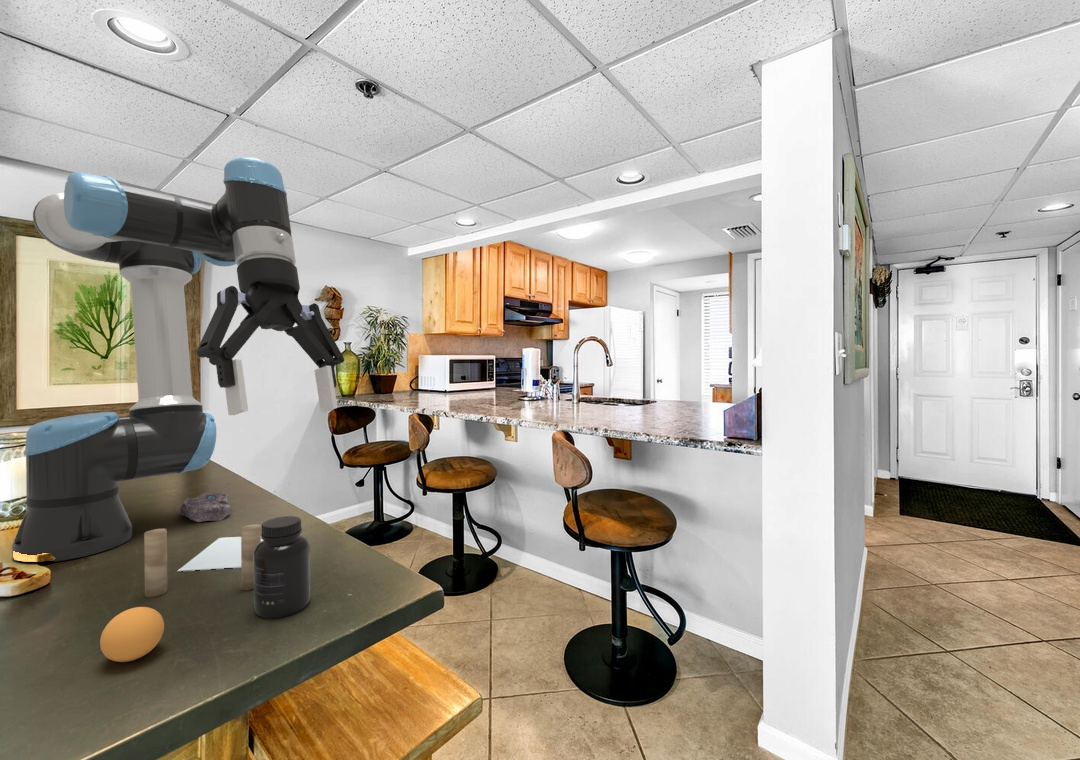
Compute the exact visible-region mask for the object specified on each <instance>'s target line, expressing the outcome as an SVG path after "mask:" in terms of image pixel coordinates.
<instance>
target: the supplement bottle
mask: <svg viewBox="0 0 1080 760" xmlns="http://www.w3.org/2000/svg"><path fill="white" fill-rule="evenodd" d="M302 533H303V527H302V519H301V518H300V517H299V516H295V515H287V516H284V515H283V516H278V517H277V516H276V517H273V518H270V519H267V520H266V521H263V522H262V524H261V539H262V540H263V541H262V542H260V543H259V544H258V545H257V546H256V548H255V550H254V553H253V563H254V589H253V595H254V597H253V598H254V600H253V601H254V612H255V614H256V615H258V616H259V617H261V618H264V619H280V618H283V617H288V616H291V615H294V614H296V613H298V612H300V611H301V610H303V609H304V608H305V607H306V606H307V605H308V604H309V602H310V600H311V553H310V552H311V551H310V550H311V549H310V548H311V547H310V541H309V539H308V538H307V537H306V536H304V535H303V534H302Z"/></svg>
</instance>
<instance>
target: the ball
mask: <svg viewBox="0 0 1080 760" xmlns="http://www.w3.org/2000/svg"><path fill="white" fill-rule="evenodd" d="M164 631H165V621H164V617H163V616H162V614H161V613H160V612H159V611H157V610H156V609H154V608H151V607H147V606H136V607H131V608H129V609H126V610H124V611H122V612H119V614H117V615H116V616H114V617H112V619H111V620H110V621H109V622H108V623H107V624H106V625H105V627H104V629H103V630H102V632H101V635H100V640H99V645H100V646H99V647H100V651H101V652H102V654H103V655H104V656H105V657H106V658H107V659H109V660H111V661H113V662H117V663H118V662H119V663H126V662H127V663H128V662H132V661H136V660H137V659H140V658H142V657H144V656H145V655H148V654H149V653H150V652H151V651H152V650H153V649H154V648H155V647H156V646H157V645H158V643H159V642H160V641H161V639H162V636H163V634H164Z"/></svg>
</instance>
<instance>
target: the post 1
mask: <svg viewBox="0 0 1080 760" xmlns="http://www.w3.org/2000/svg"><path fill="white" fill-rule="evenodd" d="M167 535H168V532H167V528H155V529H151V530H147V531H145V532H144V533H143V536H144V537H143V541H144V545H143V546H144V547H143V549H144V550H143V551H144V559H143V560H144V596H145V598H154V597H155V598H156V597H159V596H162V595H164V594H166V593H168V545H167V544H168V543H167V541H168V539H167V538H168V537H167Z"/></svg>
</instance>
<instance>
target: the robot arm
mask: <svg viewBox="0 0 1080 760" xmlns="http://www.w3.org/2000/svg"><path fill="white" fill-rule="evenodd" d="M66 179H67V180H66V182H65V184H64V185H65V186H64V192H61V193H55V194H51V195H48V196H46V197H44V198H41V200H39V201H38V202H37V203H36V205H35V206H34V208H33V211H32V221H33V223H34V227H35V229H36V230H37V232H38V233H39V235H40V236H42V238H43V239H45V241H47V242H48V243H50V244H51V245H53V246H54V247H57V248H58V249H61V250H63V251H65V252H67V253H69V254H73V255H75V256H79V257H82V258H84V259H89V260H93V261H96V262H97V261H98V262H104V263H109V264H110V263H111V264H117V265H118V266H119V267H118V269H119V275H120V276H121V277H122V278H123V279H125V280H126V281H128V283H129V284H130V294H131V310H132V322H133V336H134V338H133V339H134V352H135V367H136V380H137V381H136V383H137V397H138V398H137V399H138V401H136V403H134V404H133V405H132V406H131V407H130V408H129V409H128V414H129V415H128V416H129V417H128V418H120V416H119V415H118V413H117V412H114V411H101V412H89V413H81V414H75V415H74V414H73V415H69V416H68V415H66V416H63V417H62V416H61V417H56V418H50V419H47V420H43V421H40V422H37V423H35V424H32V426H30V427H29V428H28V430H27V432H26V435H25V447H24V451H23V455H24V456H25V462H26V463H25V464H26V465H25V467H26V468H25V471H26V472H25V473H26V475H25V476H26V477H25V478H26V481H25V482H26V486H25V487H26V490H25V491H26V492H25V493H26V511H25V513H24V515H23V519H22V521H21V523H20V525H19V528H18V530H17V532H16V535H15V538H14V540H13V542H12V545H11V551H12V550H13V551H15V552H19V553H21V554H27V555H37V554H42V553H52V554H53V555H52V556H54V557H55V558H56V559H55V561H54V562H60V561H68V560H73V559H77V558H82V557H87V556H91V555H94V554H98V553H102V552H106V551H108V550H111V549H114V548H116V547H119V546H121V545H122V544H125V543H127V542H128V541H129V540H130V539H131V538H132V537H133V524H132V522H131V520H130V518H129V515H128V513H127V511H126V509H125V507H124V505H123V503H122V501H121V499H120V493H119V492H120V482H124V481H131V480H139V479H145V478H152V477H157V476H165V475H174V474H182V473H185V472H190V471H195V470H199V469H201V468H204V467H205V466H206V465H207V464H208V463H209V461H210V460H211V458H212V456H213V454H214V451H215V447H216V442H217V424H216V422H215V418H214V416H213V415H212V414H211V413H208V412H204V411H203V404H202V403H201V402H200V401H198V400H197V399H195V398H194V395H193V387H192V386H193V385H192V374H191V373H192V372H191V360H190V359H191V358H190V348H189V346H190V345H189V334H188V333H189V332H188V323H187V321H188V320H187V311H186V310H187V308H186V295H185V286H186V285H187V284H189V282H191V281H192V280H193V274H197V273H198V272H199V271H200V269H201V267H202V260H205V261H206V262H208V263H210V264H211V265H214V266H217V267H232V266H234V265H236V266H237V267H236V275H237V281H238V288H239V289H238V288H237V287H236V286H234V285H229V286H227V287H226V288H224V289H222V290H219V292H217V293H216V308H215V310H214V313H213V314H212V317H211V319H210V321H209V323H208V325H207V327H206V329H205V332H204V334H203V336H202V338H201V340H200V343H199V345H198V347H197V349H196V355H197V357H199V358H204V359H205V358H207V359H208V361H209V363H210V365H212V366H215V367H216V375H217V384H218V386H219V387H220V388H224V391H225V397H226V406H227V412H228V416H237V415H239V414H241V413H245V412H247V411H249V406H248V405H249V404H248V398H247V392H246V383H245V382H246V381H245V376H244V370H243V369H244V368H243V362H242V359H239V358H237V359H233V358H234V357H235V356H236V355H237V354H238V352H239V351H240V350H242V348H243V346H245V344H246V343H247V341H248V340H249V339H250V338H251V337H252V335H253V334H254V333H255V332H256V331H257V329H258V328H259V327H260V329H262V330H274V331H275V332H285V334H286V335H287V336H289V337H292V338H293V339H294V341H295V342H296V343H297V344H298V345H299V347H301V349H302V350H303V351H304V352H305V353H306V355H308V358H310V359H311V360H312V361H313V363H314V364H315V365H316V366H317V367H318V368H316V369H315V370H314V377H315V383H316V388H317V395H318V402H319V409H320V412H321V413H323V412H327V411H331V410H334V409H337V408H338V403H337V402H338V401H337V395H336V389H335V388H337V379H336V371H335V367H336V366H337V365H340V364H343V363H344V362H345V358H344V355H343V354H342V352H341V350H340V348H339V347H338V344H337V343H336V341H335V339H334V337H333V336H332V334H331V332H330V330H329V329H328V327H327V325H326V323H325V322H324V320H323V318H322V313H321V310H320V306H319V305H318V303H315V302H314V303H311V304H309V305H308V304H307V305H306V304H302V303H301V302H300V299H299V292H300V290H301V288H300V280H299V274H298V268H297V266H296V262H297V261H296V260H297V259H296V256H295V248H294V242H293V237H292V228H291V221H290V220H291V219H290V215H289V205H288V204H289V203H288V200H287V199H288V198H287V197H288V196H287V195H288V193H287V191H286V190H285V185H284V179H283V176H282V173H281V172H280V169H278V168H277V166H275V165H273V164H272V163H270V162H269V161H267V160H262V159H259V158H257V157H251V156H243V157H242V156H240V157H237V158H233V159H231V160H229V161H227V163H226V164H225V165H224V169H223V180H222V181H223V184H224V186H225V191H224V193H223V194H222V196H221V197H220V198H219V199H218V200H217V202H216V203H210V202H207V201H202V200H197V199H194V198H190V197H186V196H182V195H177V194H173V193H167V192H165V191H160V190H157V189H153V188H149V187H146V186H142V185H138V184H135V183H134V184H133V183H129V182H126V181H122V180H118V179H114V178H112V177H110V176H106V175H97V174H96V175H95V174H91V173H86V172H83V171H82V172H81V171H74V172H72V173H70V174H69V175H68V176H67V178H66ZM238 290H239V291H238ZM238 306H241V307H242V308H243V309H244V310H245V312H246V313H247V314H246V316H245V317H244V318H243V319H242V321H241V322H240V323H239V326H238V327H237V328H236V329H235V330H234V332H233V333H232V334H231V335H230V336H229V337H228V338H227V340H226V341H225V342H224V343H223V341H224V338H225V336H226V334H227V332H228V330H229V328H230V325H231V324H232V320H233V318H234V316H235V313H236V311H237V308H238ZM295 324H296V326H295ZM222 343H223V345H222Z"/></svg>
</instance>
